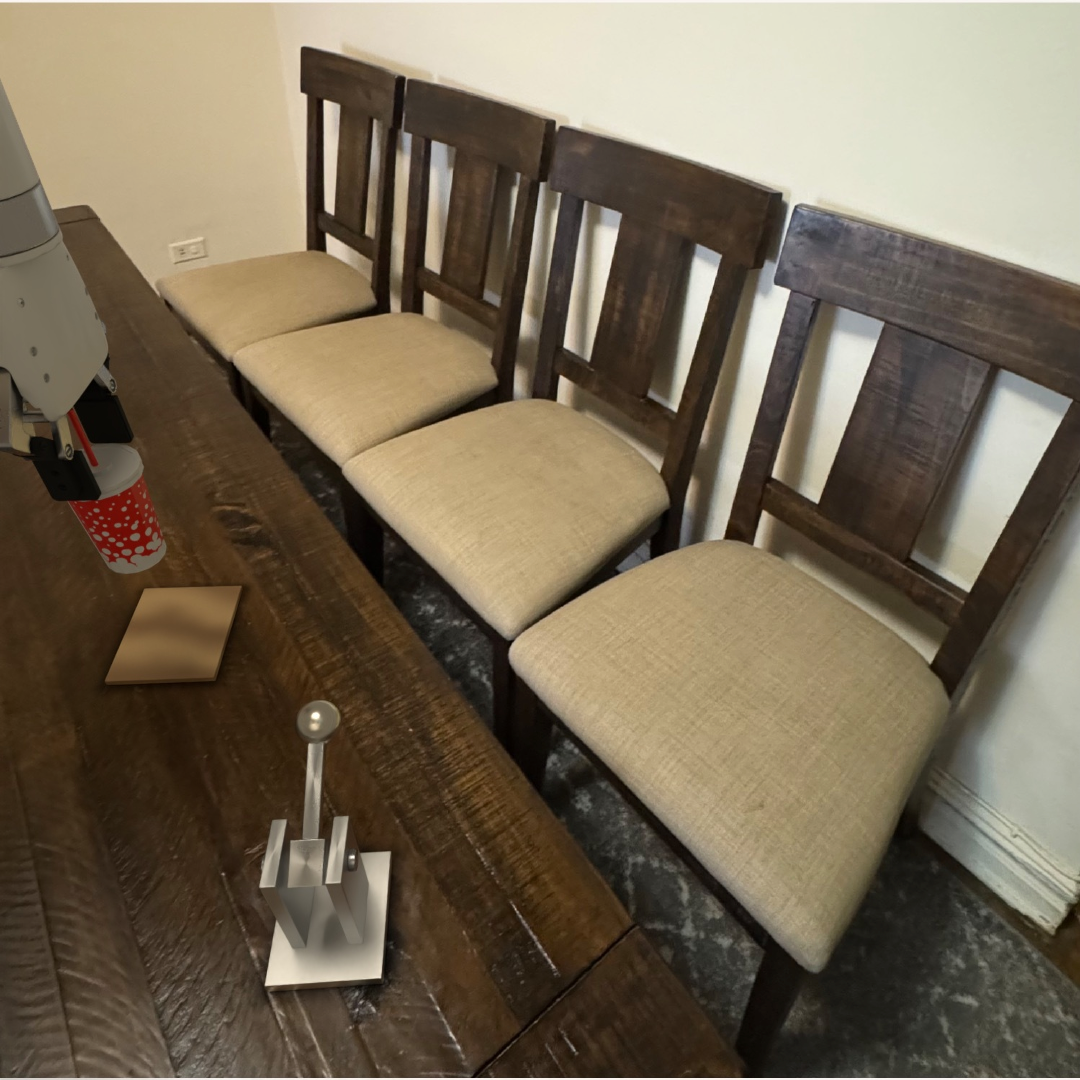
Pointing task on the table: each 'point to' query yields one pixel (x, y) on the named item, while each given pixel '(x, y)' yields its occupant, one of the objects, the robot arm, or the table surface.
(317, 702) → the grey lever handle
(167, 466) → the table surface
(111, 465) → the beverage cup
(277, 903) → the faucet base
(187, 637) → the drip mat
